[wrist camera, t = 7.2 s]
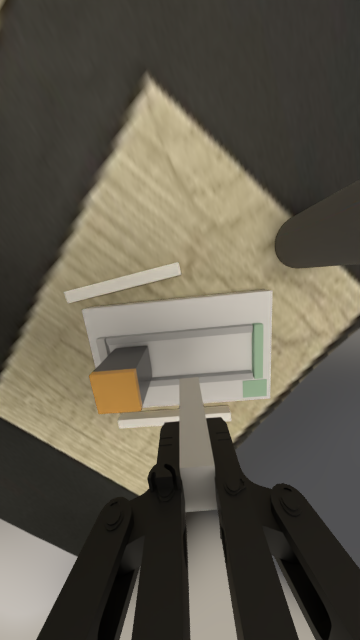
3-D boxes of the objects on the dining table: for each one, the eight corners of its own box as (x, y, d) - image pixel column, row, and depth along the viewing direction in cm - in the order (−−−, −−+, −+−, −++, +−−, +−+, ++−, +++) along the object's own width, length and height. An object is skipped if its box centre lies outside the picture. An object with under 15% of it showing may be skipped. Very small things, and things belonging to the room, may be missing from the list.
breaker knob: (121, 377, 22) (98, 414, 16) (115, 348, 21) (88, 375, 15) (152, 375, 22) (141, 411, 16) (147, 345, 21) (133, 372, 15)
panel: (111, 400, 26) (103, 414, 23) (90, 306, 23) (77, 310, 20) (263, 389, 25) (273, 402, 22) (264, 289, 22) (276, 291, 19)
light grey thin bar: (75, 301, 22) (68, 303, 21) (70, 291, 22) (63, 292, 21) (181, 274, 21) (181, 274, 20) (178, 262, 21) (178, 262, 20)
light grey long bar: (122, 420, 27) (119, 428, 25) (121, 413, 26) (117, 420, 25) (228, 413, 26) (231, 421, 25) (228, 405, 26) (230, 412, 24)
